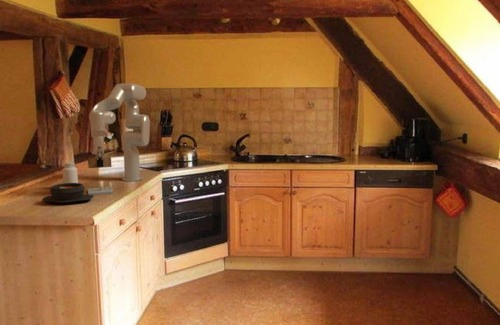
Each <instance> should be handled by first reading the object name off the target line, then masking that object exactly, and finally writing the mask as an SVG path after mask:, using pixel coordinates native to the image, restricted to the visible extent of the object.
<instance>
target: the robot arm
mask: <svg viewBox="0 0 500 325" xmlns="http://www.w3.org/2000/svg"><path fill="white" fill-rule="evenodd" d="M146 97H147V90H146V88H145V87H144V86H142V85H139V84H136V83H132V82H131V83H130V82H129V83H117V84H115V86H114V87H113V89H112V90H111V92H110V93H109V95H108V97H106V98H105V99H103V100H101V101H99V102H97V103H96V104H95V105H94V106H93V107H92V109H91V110H90V113H89V118H88V119H89V121H90V134H91V135H90V136H91V138H92V140H93V141H92V144H93V154H94V155H95V156H96V157H97V167H103V157H104V156H103V155H104V152H105V149H104V148H105V147H104V143H105V141H104V140H105V139H104V138H105V137H106V135H107V134H106V125H112V124H114V123H115V122H116V118H117V117H116V114H115V112H113V110H116V109H118V108H120V107H121V106H122V104H123V103H124V106H125V107H124V108H125V110H124V111H125V114H124V125H125V126H124V127H125V128H126V129H129V130H128V131H127V130H126V131H124V132H123V133H122V134H121V136H120V137H121V143H122V148H123V150H122V151H123V164H124V165H123V166H124V177H122V179H121V180H122V181H124V182H138V181H141V180H143V177H142V176H141V172H140V169H141V168H140V152H139V150H138V148H137V147H146V146H148V145H149V143H150V137H151V136H150V134H151V133H150V132H151V131H150V130H151V120H150V117H149V116H148V115H147V114H143V113H142V114H140V106H139V104H138V102H137V100H138V101H140V100H144V99H145V98H146ZM103 168H104V167H103Z"/></svg>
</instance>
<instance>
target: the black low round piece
mask: <svg viewBox="0 0 500 325" xmlns="http://www.w3.org/2000/svg"><path fill="white" fill-rule="evenodd" d="M85 189H86V187H85V186H84V184H83V183H80V182H78V183H63V182H62V183H58V184H55V185H52V186H51V187H50V189H49V193H50V194H51V195H48V196H45V197H43V198H42V199H41V201H43V202H51V203H56V204H60V205H63V204H74V203H79V202H82V201H89V200H92V199H93V198H94V197H95V195H88V193H87V194H85V193H84V192H85Z"/></svg>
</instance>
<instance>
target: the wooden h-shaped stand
mask: <svg viewBox="0 0 500 325" xmlns="http://www.w3.org/2000/svg"><path fill="white" fill-rule="evenodd" d="M102 157H103V167H97V156H96V157H87V164H88V165H87V167H88V169H98V168H99V169H100V168H112V167H113V166H112V157H111V156H102Z"/></svg>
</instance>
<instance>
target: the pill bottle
mask: <svg viewBox="0 0 500 325" xmlns="http://www.w3.org/2000/svg"><path fill="white" fill-rule="evenodd" d="M75 164H76V163H75V162H74V161H73V162H65V163H64V168H62V179H63V181H62V184H63V183H79V177H78V176H79V175H78V169H77V167H76V166H75Z"/></svg>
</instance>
